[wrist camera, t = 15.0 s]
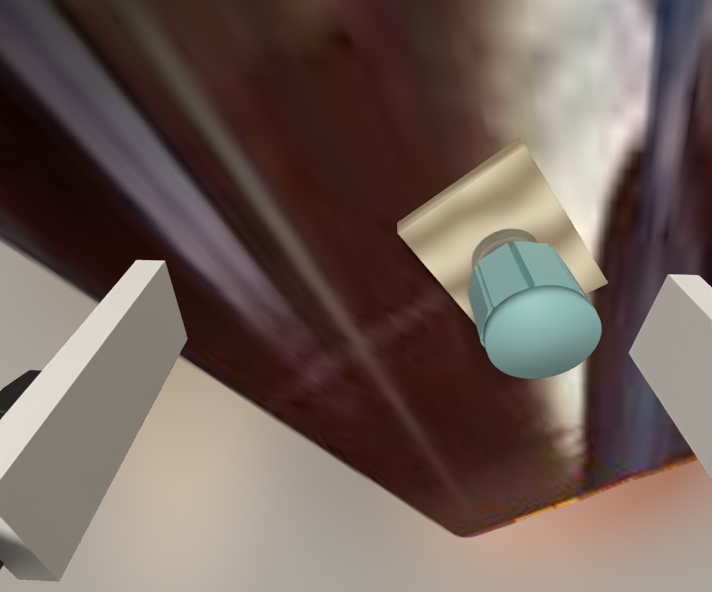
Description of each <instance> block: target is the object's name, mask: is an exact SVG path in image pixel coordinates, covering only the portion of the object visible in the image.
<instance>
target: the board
mask: <svg viewBox="0 0 712 592" xmlns="http://www.w3.org/2000/svg"><path fill="white" fill-rule="evenodd" d="M397 228H398V234H399V235H400V236H401V238H402V239H403V240H404V241H405V242H406V243H407V245H408V246H409V247H410V248H411V249H412V250H413V252H414V253H415V254H416V255H417V256H418V258H419V259H420V260H421V261H422V262H423V263H424V265H425V266H426V267H427V268H428V269H429V270H430V272H431V273H432V274H433V275H434V276H435V277H436V279H437V280H438V281H439V282H440V283H441V284H442V286H443V287H444V288H445V289H446V290H447V291H448V293H449V294H450V295H451V296H452V297H453V298H454V300H455V301H456V302H457V303H458V304H459V305H460V307H461V308H462V309H463V310H464V311H465V312H466V314H467V315H468V316H469V317H470V318H471V320H472V321H473V322H474V323H475V324H476V322H475V319H474V315H473V312H472V308H471V304H470V301H469V296H468V293H467V292H468V288H469V284H470V280H471V277H472V273H473V269H472V264H471V261H472V255H473V252H474V250H475V248H476V247H477V245H478V244H479V243H480V242H481V241H482V240H483V239H484V238H485V237H487V236H488V235H490V234H492V233H494V232H496V231H500V230H503V229H520V230H524V231H526V232H528V233H530V234H531V235H533V236H534V237H535V238H536V240H537V241H538V243H547V244H548V245H549V247H552V246H553V247H554V249H555V250H556V251H557V253H558V254H559V256H560V257H561V258H562V260H563V261H564V263H565V264H566V265H567V267H568V268H569V270H570V271H571V273H572V274H573V276H574V277H575V279H576V281H577V282H578V284H579V285H580V287H581V288H582V290H583V291H584V293H585V294H587V293H589V292H591V291H593V290H595V289H597V288H599V287H601V286H603V285H605V284H607V283H608V282H607V280H606V279H605V277H604V275H603V274H602V272H601V270H600V269H599V267H598V266H597V264H596V262H595V261H594V259H593V257H592V256H591V254H590V252H589V251H588V249H587V247H586V246H585V244H584V242H583V241H582V239H581V237H580V236H579V234H578V232H577V231H576V229H575V227H574V226H573V224H572V222H571V221H570V219H569V218H568V216H567V214H566V213H565V211H564V209H563V208H562V206H561V204H560V203H559V201H558V199H557V198H556V196H555V194H554V193H553V191H552V189H551V188H550V186H549V184H548V183H547V181H546V179H545V178H544V176H543V174H542V173H541V171H540V169H539V168H538V166H537V165H536V163H535V161H534V160H533V158H532V156H531V155H530V153H529V151H528V150H527V148H526V146H525V145H524V144H523V143H522V141H521V140H520V139H519V138H518V139H516V140H515V141H514V142H512V143H511V144H509V145H508V146H506V147H505V148H504V149H502V150H501V151H499V152H498V153H496V154H495V155H494V156H492V157H491V158H489V159H488V160H486V161H485V162H484V163H482V164H481V165H479V166H478V167H476V168H475V169H474V170H472V171H471V172H469V173H468V174H466V175H465V176H464V177H462V178H461V179H459V180H458V181H456V182H455V183H454V184H452V185H451V186H449V187H448V188H446V189H445V190H444V191H442V192H441V193H439V194H438V195H436V196H435V197H434V198H432V199H431V200H429V201H428V202H426V203H425V204H424V205H422V206H421V207H419V208H418V209H416V210H415V211H414V212H412V213H411V214H409V215H408V216H406V217H405V218H404V219H402V220H401V221H399V222H398V223H397Z"/></svg>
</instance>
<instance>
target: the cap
mask: <svg viewBox="0 0 712 592" xmlns="http://www.w3.org/2000/svg"><path fill="white" fill-rule="evenodd" d="M478 264H479V267H477V266H474V269H473V273H472V277H471V280H470V284H469V288H468V292H467V293H468V296H469V301H470V304H471V308H472V312H473V315H474V319H475V322H476V326H477V330H478V333H479V337H480V341H481V344H482V345H483V346H484V347H485V348H486V351H487V354H488V357H489V359H490V360H491V362H492V363H493V364H494V365H495V366H496V367H497V368H498V369H499V370H501V371H502V372H504V373H506V374H508V375H511V376H514V377H519V378H526V379H538V378H546V377H551V376H555V375H558V374H561V373H564V372H566V371H568V370H570V369H572V368H574V367H576V366H577V365H579V364H580V363H581V362H583V361H584V360H585V359H586V358H587V357H588V356H589V355H590V354H591V353H592V352H593V351H594V349H595V348H596V346H597V344H598V342H599V339H600V336H601V322H600V319H599V317H598V315H597V312H596V310H595V309H594V307H593V305H592V304H591V302H590V301H589V299H588V298H587V296H586V295H585V293H584V291H583V290H582V288H581V287H580V285H579V284H578V282H577V281H576V279H575V277H574V276H573V274H572V273H571V271H570V270H569V268H568V267H567V265H566V264H565V263H564V261H563V260H562V258H561V257H560V256H559V254H558V253H557V251H556V250H555V249H554V247H553V246H552V247H549V245H548V244H547V243H534V242H520V241H513V245H512V248H510V246H509V245H508V244H507V243H506V244H504V245H503V246H501V247H500V248H498V249H496V250H495V251H493V252H492V253H490V254H489V255H487V256H486V257H484V258H482V259H481V260H479V261H478Z"/></svg>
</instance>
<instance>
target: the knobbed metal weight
mask: <svg viewBox="0 0 712 592" xmlns="http://www.w3.org/2000/svg"><path fill="white" fill-rule="evenodd" d="M513 241H520V242H534V243H538V241H537V240H536V238H535V237H534V236H533V235H531V234H530V233H528V232H526V231H524V230H520V229H503V230H500V231H496V232H494V233H492V234H490V235H488V236H487V237H485V238H484V239H483V240H482V241H481V242H480V243H479V244H478V245H477V247H476V248H475V250H474V252H473V255H472V261H471V264H472V269H474V266H477V267H479V264H478V261H479V260H481V259H482V258H484V257H486V256H487V255H489V254H490V253H492V252H493V251H495V250H496V249H498V248H500V247H501V246H503V245H504V244H506V243H507V244H508V245H509V246H510V248H512V245H513Z"/></svg>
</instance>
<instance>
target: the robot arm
mask: <svg viewBox="0 0 712 592" xmlns="http://www.w3.org/2000/svg"><path fill="white" fill-rule="evenodd" d="M187 339H188V338H187V335H186V331H185V328H184V325H183V321H182V318H181V314H180V311H179V307H178V304H177V301H176V297H175V294H174V290H173V287H172V283H171V280H170V277H169V273H168V270H167V266H166V263H165V261H154V260H136V261H135V263H134V264H133V265H132V266H131V267H130V268H129V270H128V271H127V272H126V273H125V274H124V275H123V277H122V278H121V279H120V280H119V281H118V282H117V284H116V285H115V286H114V287H113V288H112V290H111V291H110V292H109V293H108V294H107V295H106V297H105V298H104V299H103V300H102V301H101V302H100V304H99V305H98V306H97V307H96V308H95V309H94V311H93V312H92V313H91V314H90V315H89V317H88V318H87V319H86V320H85V321H84V322H83V324H82V325H81V326H80V327H79V328H78V330H77V331H76V332H75V333H74V334H73V335H72V336H71V338H70V339H69V340H68V341H67V342H66V344H65V345H64V346H63V347H62V348H61V349H60V351H59V352H58V353H57V354H56V355H55V356H54V358H53V359H52V360H51V361H50V362H49V363H48V365H47V366H46V367H45V368H44V369H43V370H42V371H37V370H29V371H27V372H26V373H25V374H23V375H22V376H20V377H19V378H17V379H16V380H14V381H13V382H11V383H10V384H9V385H7V386H6V387H4V388H3V389H2V390H1V391H0V569H1V567H2V566H3V565H4V566H5V567H6V568H7V569H8V570H9V571H10V572H11V573H12V574H13V575H14V576H15V577H16V578H17V579H21V580H22V579H23V580H41V581H60V579H61V577H62V575H63V573H64V571H65V570H66V568H67V566H68V564H69V562H70V560H71V558H72V556H73V554H74V552H75V551H76V549H77V546H78V545H79V543H80V541H81V539H82V537H83V535H84V534H85V532H86V530H87V528H88V526H89V524H90V522H91V520H92V518H93V516H94V515H95V513H96V511H97V509H98V507H99V505H100V503H101V501H102V499H103V498H104V496H105V494H106V492H107V490H108V488H109V486H110V484H111V483H112V481H113V479H114V477H115V475H116V473H117V471H118V469H119V467H120V465H121V464H122V462H123V460H124V458H125V456H126V454H127V452H128V450H129V448H130V447H131V445H132V443H133V441H134V439H135V437H136V435H137V433H138V431H139V429H140V428H141V426H142V424H143V422H144V420H145V418H146V416H147V414H148V413H149V411H150V409H151V407H152V405H153V403H154V401H155V399H156V397H157V395H158V393H159V392H160V390H161V388H162V386H163V384H164V382H165V380H166V378H167V377H168V375H169V373H170V371H171V369H172V367H173V365H174V363H175V361H176V359H177V358H178V356H179V354H180V352H181V350H182V348H183V346H184V344H185V343H186V341H187ZM629 354H630V356H631V358H632V359H633V361H634V362H635V364H636V365H637V367H638V368H639V370H640V371H641V373H642V374H643V376H644V377H645V379H646V380H647V382H648V383H649V385H650V386H651V388H652V389H653V391H654V392H655V394H656V396H657V397H658V399H659V400H660V402H661V403H662V405H663V406H664V408H665V409H666V411H667V412H668V414H669V415H670V417H671V418H672V420H673V421H674V423H675V424H676V426H677V427H678V429H679V430H680V432H681V434H682V435H683V437H684V438H685V440H686V441H687V443H688V444H689V446H690V447H691V449H692V450H693V452H694V453H695V455H696V456H697V458H698V459H699V461H700V462H701V464H702V465H703V467H704V468H705V470H706V471H707V473H708V474H709V476H710V478H711V479H712V287H710V286H709V285H708V284H707V283H706V282H705V281H704V280H703V279H702V278H701V277H700V276H699V275H668V276H667V278H666V280H665V282H664V284H663V286H662V288H661V290H660V292H659V294H658V296H657V298H656V300H655V302H654V304H653V306H652V308H651V310H650V312H649V314H648V315H647V317H646V319H645V321H644V323H643V325H642V327H641V329H640V331H639V333H638V335H637V337H636V339H635V341H634V343H633V345H632V347H631V349H630V351H629Z"/></svg>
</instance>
